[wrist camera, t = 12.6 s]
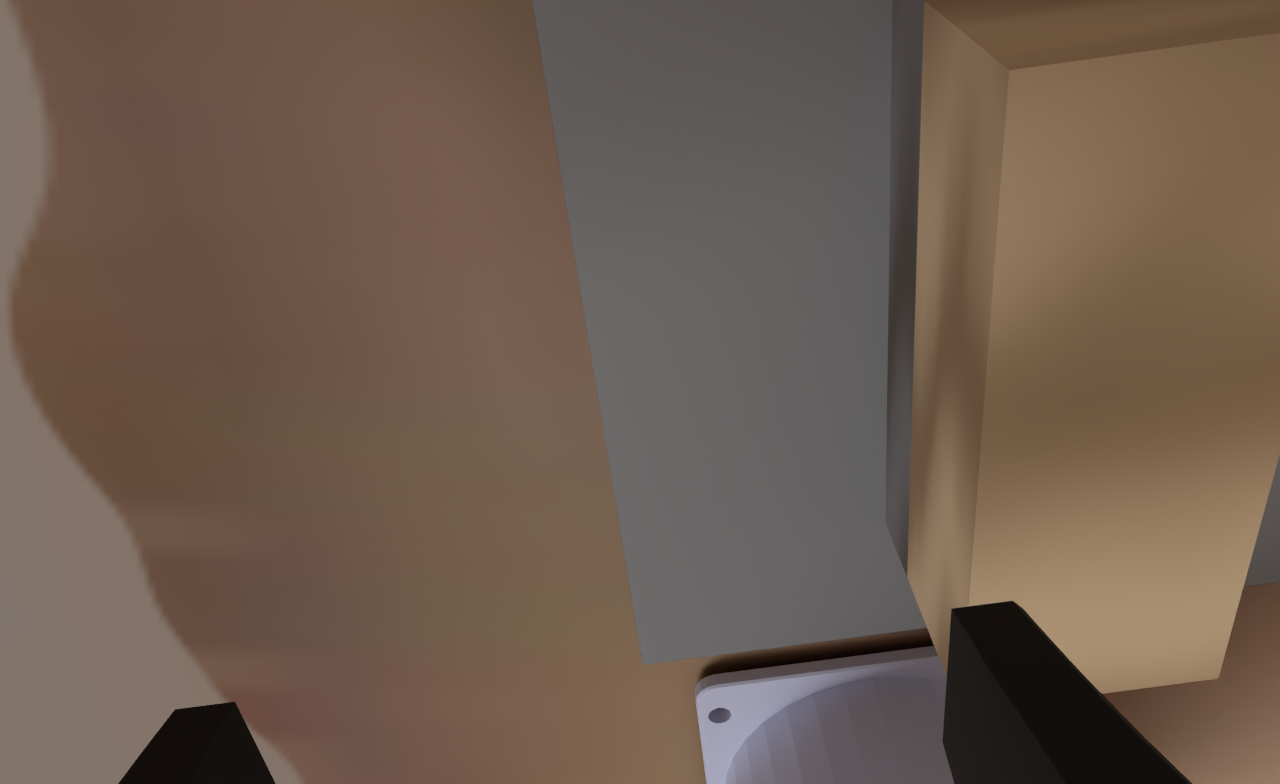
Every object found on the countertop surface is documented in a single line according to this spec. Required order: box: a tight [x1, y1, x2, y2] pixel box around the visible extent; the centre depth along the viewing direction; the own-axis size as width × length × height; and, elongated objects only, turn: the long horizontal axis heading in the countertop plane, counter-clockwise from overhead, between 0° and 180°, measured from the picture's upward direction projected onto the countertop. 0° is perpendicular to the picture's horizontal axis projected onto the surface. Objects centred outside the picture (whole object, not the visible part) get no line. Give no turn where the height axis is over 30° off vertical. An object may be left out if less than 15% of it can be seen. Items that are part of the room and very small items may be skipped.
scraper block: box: [885, 0, 1280, 694], centre depth 15 cm, size 10×4×4 cm, turn 7°
